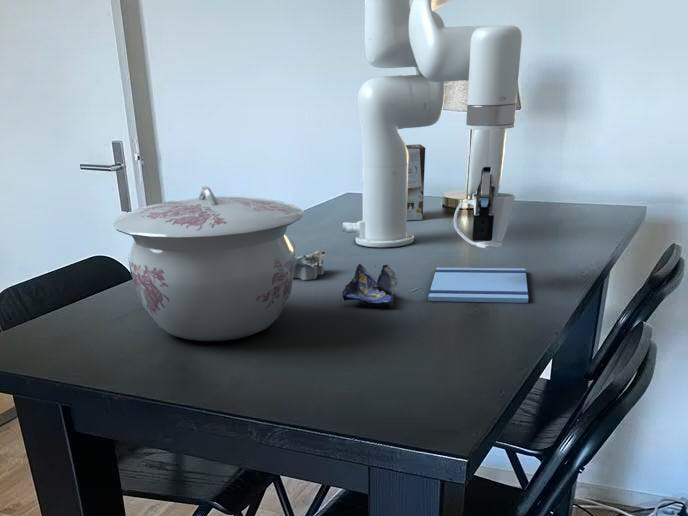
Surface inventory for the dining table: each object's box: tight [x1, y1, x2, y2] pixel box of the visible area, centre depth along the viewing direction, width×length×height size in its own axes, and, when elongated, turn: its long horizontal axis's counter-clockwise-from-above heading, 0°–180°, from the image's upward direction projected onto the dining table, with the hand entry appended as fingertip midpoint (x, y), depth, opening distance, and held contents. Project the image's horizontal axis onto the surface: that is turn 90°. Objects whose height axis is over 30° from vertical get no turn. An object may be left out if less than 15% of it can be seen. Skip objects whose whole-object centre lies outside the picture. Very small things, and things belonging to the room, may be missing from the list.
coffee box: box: [405, 143, 426, 221], centre depth 192 cm, size 9×6×16 cm
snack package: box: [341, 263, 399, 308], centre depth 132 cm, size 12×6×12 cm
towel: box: [427, 267, 529, 304], centre depth 138 cm, size 16×20×1 cm
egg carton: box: [293, 250, 326, 281], centre depth 149 cm, size 11×8×4 cm
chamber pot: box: [112, 185, 304, 343], centre depth 117 cm, size 28×28×21 cm
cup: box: [452, 192, 516, 249], centre depth 133 cm, size 7×10×8 cm
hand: (482, 235), depth 134 cm, fingers closed on cup, 6 cm apart
